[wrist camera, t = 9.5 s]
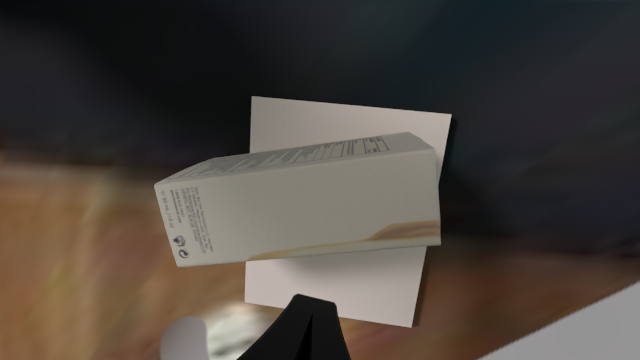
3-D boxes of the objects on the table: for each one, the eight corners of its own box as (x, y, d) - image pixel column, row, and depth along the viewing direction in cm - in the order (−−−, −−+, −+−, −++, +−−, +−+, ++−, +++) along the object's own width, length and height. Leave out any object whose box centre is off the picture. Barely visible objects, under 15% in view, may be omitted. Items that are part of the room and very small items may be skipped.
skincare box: (173, 271, 14) (445, 253, 12) (147, 182, 13) (440, 147, 11) (229, 219, 21) (418, 201, 19) (214, 155, 20) (413, 129, 18)
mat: (247, 297, 22) (244, 302, 22) (255, 96, 19) (251, 96, 18) (409, 321, 21) (411, 327, 21) (448, 114, 18) (451, 114, 17)
